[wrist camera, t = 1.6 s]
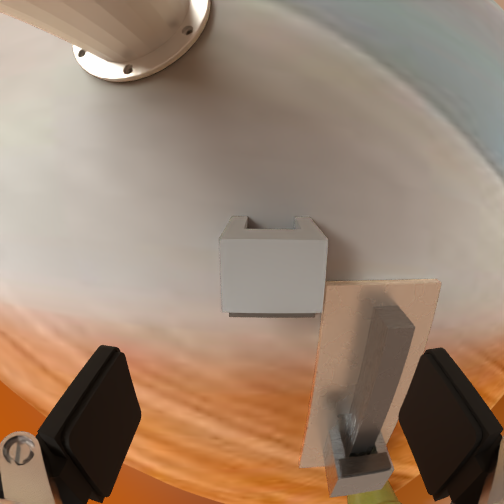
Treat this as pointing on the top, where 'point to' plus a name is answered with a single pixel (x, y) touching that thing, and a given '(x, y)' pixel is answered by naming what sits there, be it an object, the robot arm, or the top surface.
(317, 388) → the rail
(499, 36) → the top surface
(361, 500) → the plant pot
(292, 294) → the grey block
